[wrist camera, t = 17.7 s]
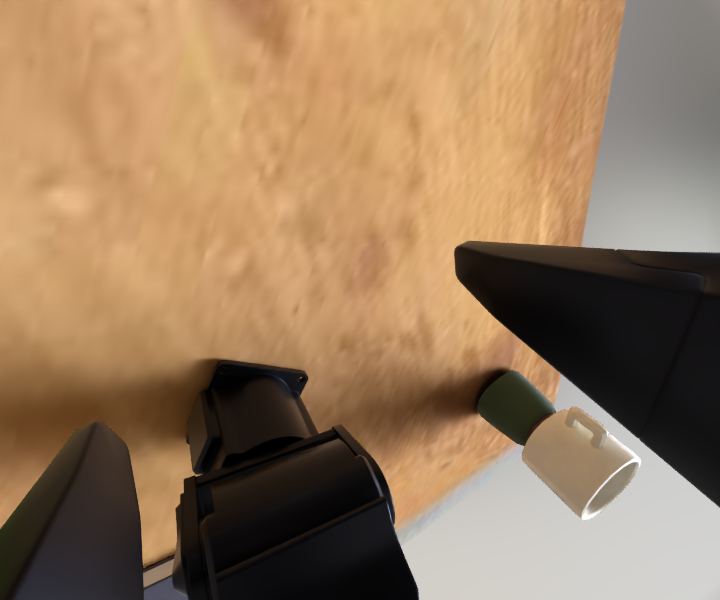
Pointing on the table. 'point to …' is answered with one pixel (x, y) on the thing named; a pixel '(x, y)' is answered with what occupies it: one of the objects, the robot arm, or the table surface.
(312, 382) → the table surface
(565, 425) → the character mug
